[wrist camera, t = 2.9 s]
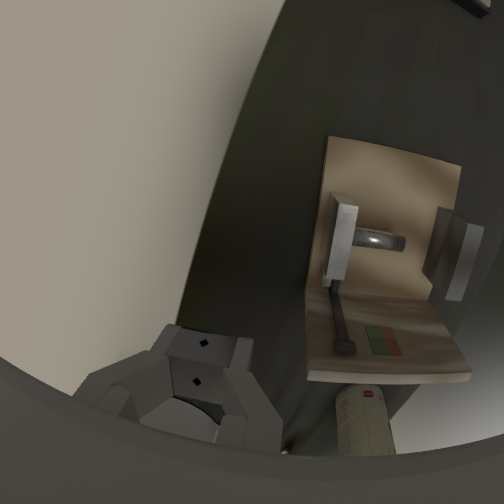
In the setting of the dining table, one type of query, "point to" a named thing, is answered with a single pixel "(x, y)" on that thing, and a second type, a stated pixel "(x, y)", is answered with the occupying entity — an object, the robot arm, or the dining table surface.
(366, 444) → the aerosol can
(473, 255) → the gauge frame
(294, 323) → the dining table surface
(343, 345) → the dark bent bar
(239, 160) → the dining table surface
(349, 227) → the slab with metal rod
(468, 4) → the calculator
